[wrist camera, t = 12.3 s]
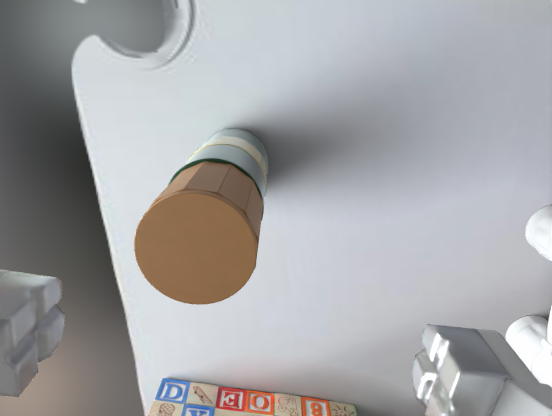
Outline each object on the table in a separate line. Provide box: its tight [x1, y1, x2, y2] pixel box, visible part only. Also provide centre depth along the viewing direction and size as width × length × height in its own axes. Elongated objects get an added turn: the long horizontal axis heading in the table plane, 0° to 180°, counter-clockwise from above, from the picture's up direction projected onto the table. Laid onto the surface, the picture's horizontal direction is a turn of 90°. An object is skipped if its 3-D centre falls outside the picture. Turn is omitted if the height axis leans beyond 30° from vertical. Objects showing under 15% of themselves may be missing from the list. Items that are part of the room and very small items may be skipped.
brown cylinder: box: [134, 161, 263, 304], centre depth 22 cm, size 6×6×6 cm
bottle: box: [167, 128, 268, 221], centre depth 28 cm, size 6×6×17 cm
